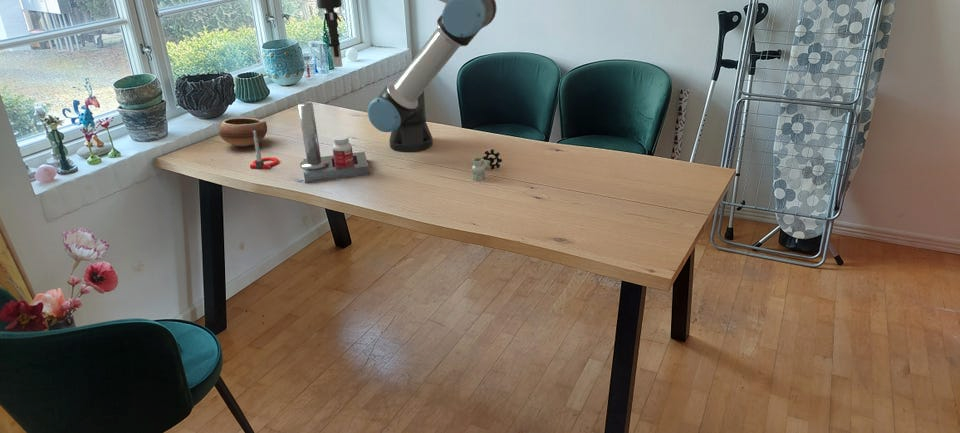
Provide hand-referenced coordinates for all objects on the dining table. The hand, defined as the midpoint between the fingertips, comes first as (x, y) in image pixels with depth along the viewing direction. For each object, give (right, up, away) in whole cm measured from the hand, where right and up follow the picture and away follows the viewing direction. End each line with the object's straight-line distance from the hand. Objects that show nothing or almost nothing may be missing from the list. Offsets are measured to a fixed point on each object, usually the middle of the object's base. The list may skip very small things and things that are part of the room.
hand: (337, 62), depth 222 cm
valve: (+48, -37, -9) cm, 62 cm away
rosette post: (-1, -36, -1) cm, 36 cm away
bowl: (-39, -24, +27) cm, 53 cm away
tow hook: (-26, -33, +8) cm, 43 cm away
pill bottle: (+3, -35, 0) cm, 35 cm away
